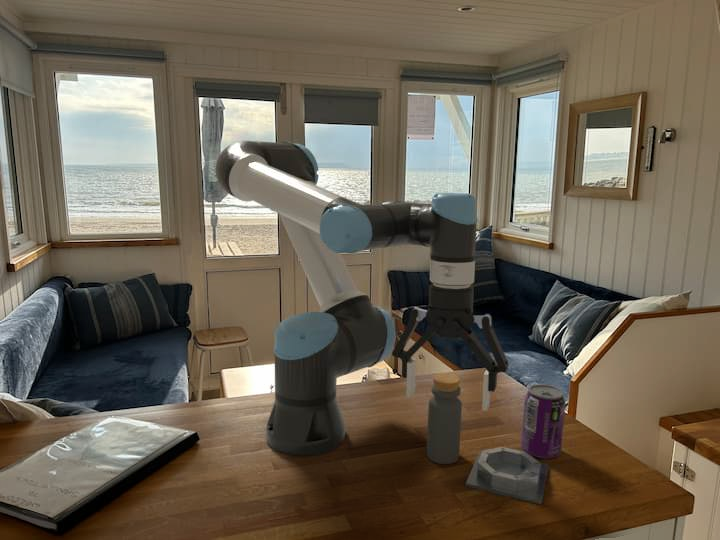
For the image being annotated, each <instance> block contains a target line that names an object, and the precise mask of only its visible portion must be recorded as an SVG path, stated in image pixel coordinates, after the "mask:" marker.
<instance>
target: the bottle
mask: <svg viewBox="0 0 720 540" xmlns="http://www.w3.org/2000/svg"><path fill="white" fill-rule="evenodd" d="M432 380H433V384H432V385H431V394H432V395H433V396H431V397H430V398H429V400H428V415H427V435H426V436H427V437H426V458H428V460H430V461H432V462H434V463H436V464H441V465H448V464H449V465H450V464H453V463H456V462H458V460H459V458H460V444H461V430H462V429H461V426H462V412H463V411H462V408H463V407H462V406H463V404H462V401H461V399H460V398H458V397H459V396H460V395H461V387H460V386H459V385H460V382H461V379H460V377H458V376H457V375H456V374H451V373H438V374H435V375H433V377H432Z"/></svg>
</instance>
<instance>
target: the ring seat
mask: <svg viewBox="0 0 720 540" xmlns="http://www.w3.org/2000/svg"><path fill="white" fill-rule="evenodd" d="M549 466H550V465H549V463H544V462H540V461H539V460H537V459H536V458H534V456H533V455H531V454H530V453H528V452H526V451H525V450H518V449H513V448H509V447H505V446H499V447H494V448H490V449H485V450H482V449H479V452H478V455H477V457H476V458H475V462H474V463H473V466H472V468H471V471H470V473H469V475H468V477H467V479H466V482H465V487H466V488H470V489H473V490H474V489H475V490H479V491H482V492H483V491H484V492H486V493H487V492H488V493H491V494H497V495H500V496H503V497H508V498H513V499H516V500H520V501H521V500H522V501H525V502H529V503H534V504H537V505H542V503H543V498H544V492H545V487H546V483H547V481H546V480H547V478H548V477H547V476H548V471H549Z"/></svg>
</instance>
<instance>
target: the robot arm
mask: <svg viewBox="0 0 720 540" xmlns="http://www.w3.org/2000/svg"><path fill="white" fill-rule="evenodd" d="M318 171H319V165H318V162H317V159H316V157H315V156H314V154H313V152H312V151H311V150H310V149H309V148H308V147H307V146H304V145H303V144H301V143H294V142H290V141H280V142H275V141H273V142H272V141H258V140H257V141H256V140H241V141H236V142H234V143H231V144H229V145H227V147H225V148H224V149H223V150H222V151H221V152H220V153H219V155H218V157H217V160H216V163H215V177H216V180H217V182H218V184H219V186H220V187H221V188H222V190H223V191H225V193H227V194H228V195H230V196H231V197H233V198H235V199H238V200H240V201H242V202H254V203H257V204H259V205H261V206H263V207H266V208H267V209H269V210H270V211H272V212H274V213H276V214H278V215H279V217H280V219H281V222H282V224H283V226H284V229H285V231H286V232H287V235H288V238H289V240H290V242H291V244H292V246H293V248H294V251H295V253H296V255H297V257H298V260H299V262H300V264H301V267H302V269H303V271H304V273H305V277H306V279H307V280H308V283H309V284H310V287H311V289H312V291H313V294H314V296H315V299H316V301H317V304H318V305H319V307H320V309H319V311H310V312H309V313H308V312H301V313H296V314H293V315H291V316H289V317H287V318H285V319H283V320H281V321H280V323H278V324H277V326H276V328H275V330H274V331H275V332H274V342H273V353H274V402H273V404H272V407H271V411H270V413H269V416H268V420H267V423H266V427H265V435H266V437H265V439H266V442H267V444H268V445H269V446H270V447H271V449H274V450H276V452H281V453H283V454H286V455H290V456H299V457H300V456H301V457H302V456H307V457H308V456H316V455H321V454H326V453H328V452H331V451H333V450H335V449H336V448H338V447H339V446H341V445H342V443H344V441H345V438H346V437H345V436H346V424H345V420H344V417H343V414H342V411H341V408H340V405H339V401H338V399H337V379H338V378H340V377H342V376H346V375H348V374H351V373H355V372H356V371H360V370H364V369H367V368H372V367H374V366H375V365H377V364H379V363H381V362H383V361H385V360H386V359H388V358H389V356H391V355H392V356H393V357H394V358H399V360H401V376H402V378H403V379H406V393H405V394H406V395H405V397H406V398H409V399H411V398H412V397H413V395H414V394H415V393H416V362H417V361H416V358H412V357H413V356H414V354H416V353H417V352H418V351H419V350H420V349H421V347H423V345H424V344H425V343H426V342H427V341H429V339H431V337H432V336H433V335H435V334H436V335H438V337H439V338H451V339H454V340H458V339H460V338H461V340H463V342H464V343H465V344H467V345H468V347H469V348H470V350H471V351H472V352H473V354H474V355H475V356H476V357H477V359H478V360H479V362H480V363H481V364H482V365H483V367H484V368H485V371H484V373H483V381H482V400H481V402H482V403H481V406H482V407H481V410H482V411H484V412H487V411H488V409H489V407H490V400H491V399H490V396H491V395H490V394H491V392H495V390H496V388H497V383H498V374H499V373H506V372H507V370H508V368H509V364H510V363H509V361H508V359H507V356H506V355H505V351H504V350H503V348H502V346H501V343H500V341H499V339H498V337H497V335H496V331H495V330H494V328H493V317H492V315H491V314H490V313H486V314H484V315H476V314H475V313H474V291H475V290H474V286H473V283H475V270H476V268H475V266H476V241H477V240H476V238H477V236H476V235H477V225H478V223H479V222H478V212H477V210H478V208H477V206H478V205H477V203H478V202H477V198H476V196H475V195H474V194H472V193H466V192H465V193H464V192H438V193H434V194H433V195H432V198H431V203H420V202H419V203H418V202H410V201H409V202H407V201H402V200H396V201H394V200H393V201H386V202H383V203H372V204H361V203H358V202H356V201H353V200H351V199H349V198H347V197H344V196H342V195H339V194H338V193H334V192H333V191H330V190H328V189H326V188H324V187H321V186H318V185H317V184H318V181H319V174H318ZM406 245H407V246H409V245H410V246H418V247H419V246H420V247H426V248H427V247H428V248H430V249H429V250H430V253H429V255H430V258H429V281H430V283H431V284H430V285H429V287H428V288H429V290H428V308H427V310H426V309H423V308H422V307H420V306H418V305H417V306H415V307H414V308H412V309H411V310H410V312H409V313H410V315H409V320H408V323H407V324H406V326H405V328H404V330H403V332H402V333H401V335H400V337H399V339H398V341H397V342H396V339H397V338H396V337H397V336H396V335H397V334H396V333H397V332H396V327H395V326H396V325H395V324H394V320H393V318H392V315H390V314H389V312H388V311H387V310H386V309H383V308H382V307H380V306H374V305H373V303H372V301H371V299H370V296H369V294H368V293H366V292H365V293H364V292H362V291H359V289H358V288H357V286H356V284H355V282H354V279H353V278H352V275H351V273H350V271H349V269H348V267H347V265H346V262H345V260H344V258H343V256H342V254H344V253H347V254H356V253H358V252H363V251H369V250H376V249H383V248H391V247H399V246H406ZM424 318H426V320H427V322H428V323H429V325H430V327H429V328H428V329H427V330H426V331H425V332H424V333H423V335H421V337H420V338H418V339H417V340H416V341H415V342H414V343H413V344H412V345H411V347H409V349H407V350H405V348H406V346H407V344H408V342H409V340H410V339H411V337H412V335H413V333H414V332H415V329H416V328H417V326H418V324H419V322H421V321H423V319H424ZM474 323H476V324H477V326H478V328H479V329H482V333H483V336H484V338H485V340H486V343H487V345H488V347H489V349H490V351H491V354H492V356H493V357H492V356H491V354H490V353H489V351H488V350H486V349H487V348H485V346H484V345H483V344H482V343H481V341H480V340H479V338H478V337H477V336H476V334H475V331H474V330H473V329H472V328H471V327H472V326H473V325H474ZM395 342H396V344H395Z"/></svg>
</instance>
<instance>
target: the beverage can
mask: <svg viewBox="0 0 720 540" xmlns="http://www.w3.org/2000/svg"><path fill="white" fill-rule="evenodd" d="M564 395H565V393H564V391H563V390H562V389H561V388H559V387H557V386H553V385H549V384H543V383H542V384H541V383H540V384H538V383H537V384H532V385H529V386H528V387H527V392H526V394H525V395H524V403H523V404H524V405H523V414H522V429H521V441H520V445H521V446H520V447H521V449H523V451H524V452H526V453H528V454H529V455H530V456H532V457H536V458H540V459H550V458H555V457H557V456H559V455H560V454H561V453H562V445H563V434H564V433H563V432H564V423H565V412H566V400H565V397H564Z"/></svg>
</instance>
